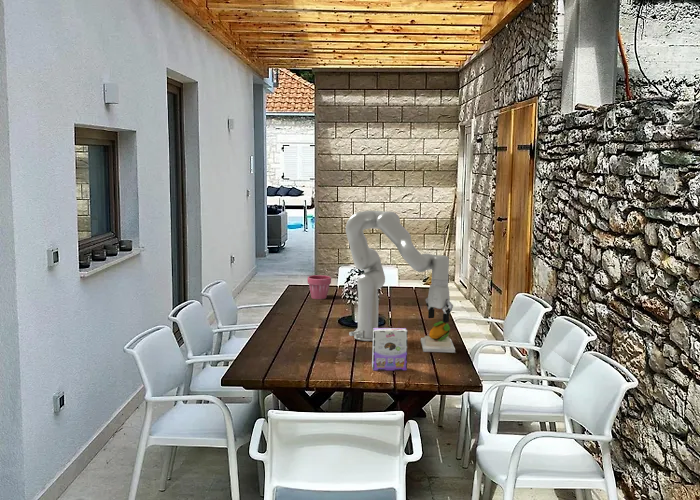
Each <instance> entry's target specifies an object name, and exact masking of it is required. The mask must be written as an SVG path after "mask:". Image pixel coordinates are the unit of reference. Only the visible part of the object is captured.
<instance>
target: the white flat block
mask: <svg viewBox="0 0 700 500" xmlns="http://www.w3.org/2000/svg"><path fill="white" fill-rule="evenodd" d="M442 337H443V336H442ZM442 337H440V338H442ZM440 338H438V339H432V338H430V337H429V335H424V337H421V338H420V343H421V347H422V352H424V353H432V352H433V353H452V354H453V353H454V354H455V353H456V348H455V346H454V343H453V341H452V339H451V338H450V336H447V337H445V338H444V339H442V340H440V341H438V340H439V339H440Z"/></svg>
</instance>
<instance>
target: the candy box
mask: <svg viewBox="0 0 700 500" xmlns="http://www.w3.org/2000/svg"><path fill="white" fill-rule="evenodd" d="M408 334H409V333H408V329H407V328H406V327H404V328H402V327H401V328H400V327H397V328H396V327H392V328H390V327H378V328H373V341H372V354H371V355H372V357H371V358H372V359H371V368H372V371H407V370H408V364H407V363H408Z"/></svg>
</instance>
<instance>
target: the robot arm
mask: <svg viewBox="0 0 700 500" xmlns="http://www.w3.org/2000/svg"><path fill="white" fill-rule="evenodd" d="M400 222H401V220H400V217H399V215H398V213H396V212H394V211H386V210H385V211H381V210H364V211H358V212H355V213H353V214H352V215H351V216H350V217H349V218H348V219H347V221H346V225H345V235H346V239H347V241H348V246H349V250H350V252H351V257H352V261H353V264H354V266H355V268H357V269H358V270H360V271H364V272H363V273H362V274H361V275H360V276H359V277H358V279H357V294H358V295H357V298H358V299H357V300H358V301H357V302H358V303H357V304H358V305H357V306H358V307H357V328H355V330H354V331H349V332H348V335H349V336H350V337H352V336H354V337H353V338H354V339H356V340H357V341H362V342H373V328H379V293H378V290H380V289H381V288H382V287H384V285H385V282H386V276H385V271H384V267H383V265H382V262H381V257H380V255H379V253H378V252H377V250H375V249H374V248H371V247H369V245H368V240H367V237H366V236H365V234H364V230H368V229H375V230H377V229H378V230H379V229H380V231H381V232H382V233H383V234H384V235H385V236H386V237H387V238H388V239H389V241H391V243H393V244H394V246H395V247H396V249H397V251H398V252H399V254H400V256H401V258H402V259H403V260H404V261H405V262H406V263H407V264H408V265H409V267H411V268H412V269H413V271H416V272H417V273H423V272H426V271H429V270H431V280H430V281H431V284H430V285H429V287H428V288H429V289H428V294H427V295H428V296H427V297H426V298H425V300H424V301H425V304H426V306H427V311H428V312H427V313H428V315H427V318H428V319H434V318H435V309H437V310H442V311H443V313H442V321H443V322H445V323H449V321H450V314H451V312H452V311H453V309H454V304H453V303H452V302H451V301H450V287H449V274H450V273H449V272H450V268H449V267H450V258H449V257H448V256H447V255H443V254H441V255H439V254H437V255H436V254H431V253H422V254H421V252H419V250H417V248H416V247H415V245H414V244H413V242H412V236H411V233H410V232H409V231H408V230H407V229H406V228H405V227H404V226H403V225H402V224H401V223H400Z"/></svg>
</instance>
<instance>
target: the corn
mask: <svg viewBox="0 0 700 500" xmlns="http://www.w3.org/2000/svg"><path fill="white" fill-rule="evenodd" d="M450 331H451V327H450V325H449V322H443V320H441V321H437V322H435V323H433V326H432V328H431V329H430V331H429V335H428V336H429V337H430V338H432V339H438V338H440V337H442V336H443V337H442V338H440V339H439V340H438V341H440V340H442V339H444V338H445V337H449V334H450Z"/></svg>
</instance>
